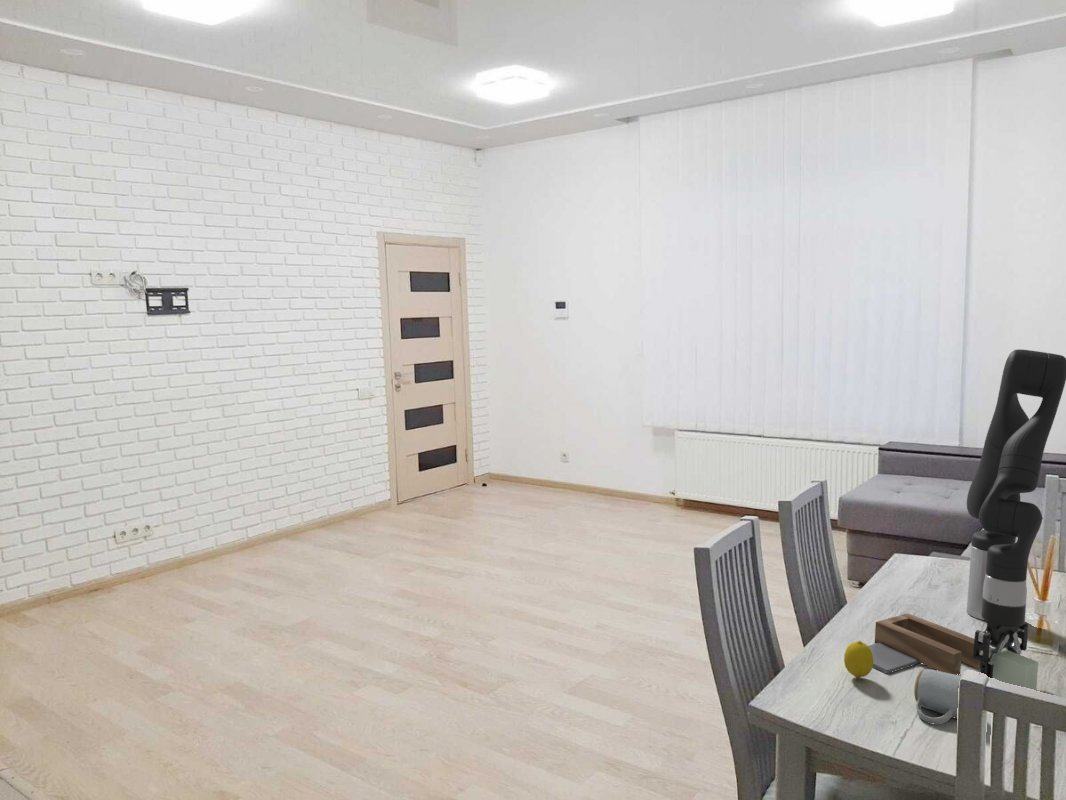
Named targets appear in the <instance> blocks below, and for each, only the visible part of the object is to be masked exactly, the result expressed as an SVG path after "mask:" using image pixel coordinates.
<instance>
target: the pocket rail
mask: <svg viewBox="0 0 1066 800" xmlns="http://www.w3.org/2000/svg"><path fill="white" fill-rule="evenodd" d="M874 628H875V631H874V644H875V643H881V644H883V645H885V646H888V647H890V648H892V649H894V650H897V651H899V652H901V653H904V654H906V655H908V656H910V657H913V658H915V659H917V660H919V662H920V663H919V664H921V663H923V664H924V665H923V664H922V665H923V666H925V665H927V666H926V667H928V668H930V667H931V668H930V669H932V668H933V669H932V670H934V669H936V671H937V670H938V671H941V672H945V673H950V674H954V675H957V674H958V675H959V674H960V675H961V670H962V669H961V668H962V667H961V666H962V663H963V662H964V664H966V665H969V666H971V667H973V668H975V669H979V670H980V661H978V660H975V659H973V651H974V640H975V637H974V638H973V637H971V636H968V635H967V634H966V635H965V634H963V633H962V632H961V633H960V632H958V631H955V630H953V629H950V628H947V627H945V626H942V625H940V624H937V623H935V622H932V621H931V620H930V621H929V620H927V619H924V618H921V617H919V616H916V615H914V614H911V613H909V612H907V613H904V614H900V615H897V616H893V617H889V618H886V619H883V620H878V621H875V627H874ZM980 652H981V650H979V654H980ZM961 661H962V662H961ZM960 675H959V676H960Z"/></svg>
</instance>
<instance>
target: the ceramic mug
mask: <svg viewBox="0 0 1066 800" xmlns="http://www.w3.org/2000/svg"><path fill="white" fill-rule="evenodd" d="M961 676H962V675H954V674H950V673H945V672H941V671H937V670H934V669H932V668H926V669H925V668H924V669H921V670H920V671H919V672H918V675H917V676H916V678H915V679H916V680H915V682H914V691H913V693H914V699H915V702H916V704H915V705H916V708H915V709H916V713H917V715H918V717H919V718H920V720H922V721H923V720H924V722H925V721H926V723H927V722H929V723H928V724H930V723H934V724H933V725H936V724H937V725H942V723H943V724H944V723H945V724H946V723H947V722H948V721H949V720H950V719H951V718H953V717H955V718H954V719H956V718H957V708H958V688H959V681H960V678H961ZM921 707H922V708H925V709H926V710H930V711H933V712H937V713H939V714H941V713H942V714H941V716H937V717H936V716H935V717H931V716H928V715H925V713H923V712H922V711H921ZM944 714H945V715H944Z"/></svg>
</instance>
